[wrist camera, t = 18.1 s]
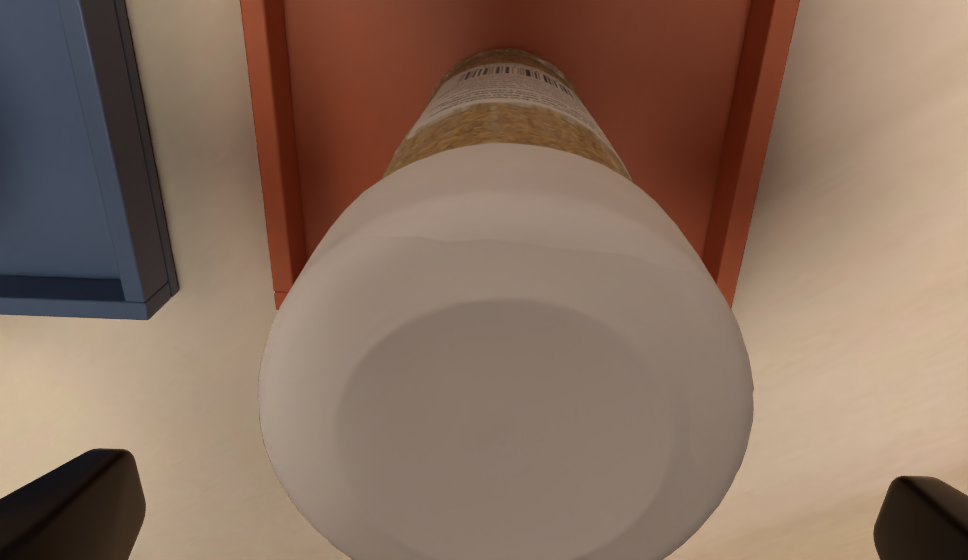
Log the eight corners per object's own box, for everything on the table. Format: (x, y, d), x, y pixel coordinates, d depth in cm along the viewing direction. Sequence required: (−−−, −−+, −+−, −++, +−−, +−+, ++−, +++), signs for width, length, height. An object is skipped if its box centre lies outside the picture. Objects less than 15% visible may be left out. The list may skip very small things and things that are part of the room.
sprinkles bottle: (398, 166, 18) (179, 528, 6) (468, 12, 17) (353, 84, 4) (539, 235, 19) (595, 680, 7) (620, 94, 17) (891, 355, 5)
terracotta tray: (706, 297, 20) (727, 328, 19) (295, 281, 20) (275, 311, 19) (790, -110, 16) (827, -122, 14) (253, -129, 16) (221, -144, 14)
